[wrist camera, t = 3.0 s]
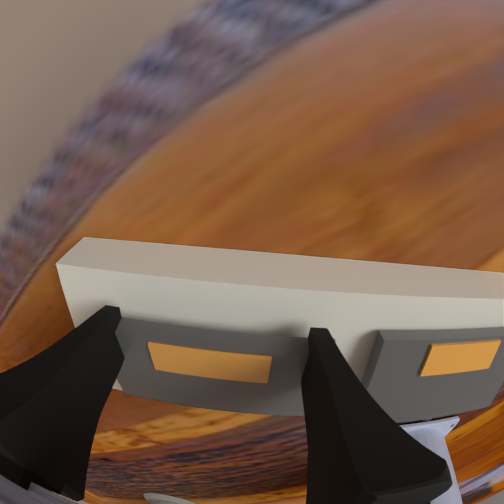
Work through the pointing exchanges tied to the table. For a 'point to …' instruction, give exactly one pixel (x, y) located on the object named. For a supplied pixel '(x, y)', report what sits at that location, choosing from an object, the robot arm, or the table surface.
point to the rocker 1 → (212, 367)
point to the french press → (164, 499)
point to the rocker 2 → (435, 371)
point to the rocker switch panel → (276, 292)
